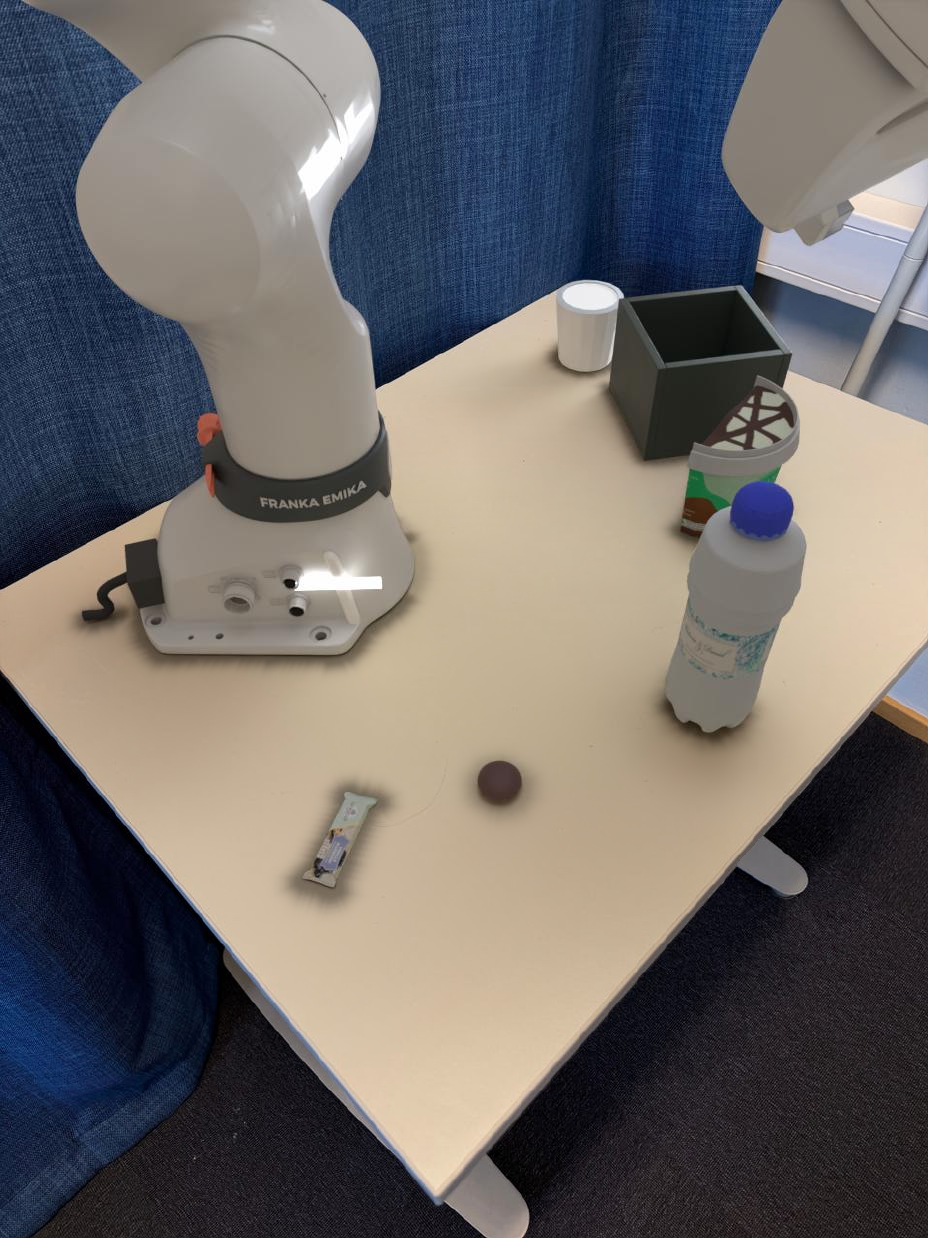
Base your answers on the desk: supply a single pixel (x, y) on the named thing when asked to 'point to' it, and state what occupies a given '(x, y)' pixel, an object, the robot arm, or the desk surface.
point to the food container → (740, 452)
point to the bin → (689, 364)
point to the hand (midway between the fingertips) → (905, 178)
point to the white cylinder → (586, 324)
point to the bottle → (735, 606)
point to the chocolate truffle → (499, 780)
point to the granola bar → (340, 839)
